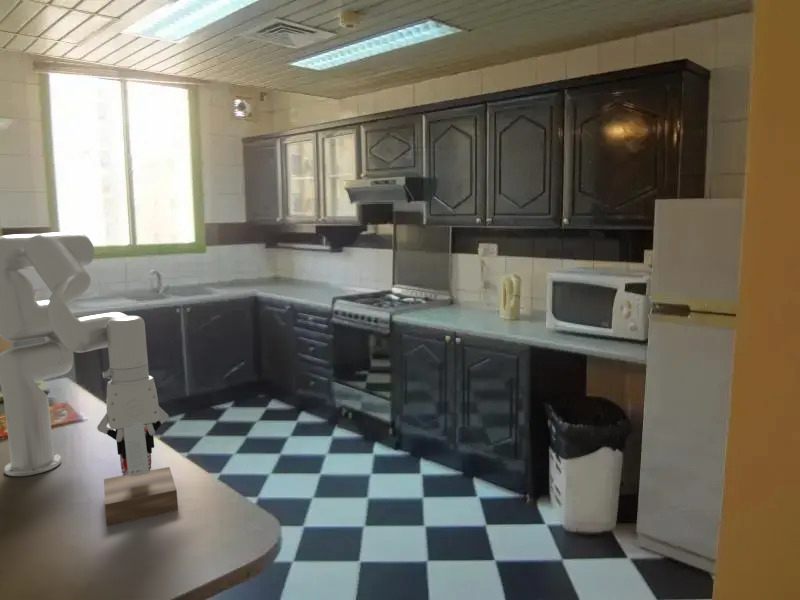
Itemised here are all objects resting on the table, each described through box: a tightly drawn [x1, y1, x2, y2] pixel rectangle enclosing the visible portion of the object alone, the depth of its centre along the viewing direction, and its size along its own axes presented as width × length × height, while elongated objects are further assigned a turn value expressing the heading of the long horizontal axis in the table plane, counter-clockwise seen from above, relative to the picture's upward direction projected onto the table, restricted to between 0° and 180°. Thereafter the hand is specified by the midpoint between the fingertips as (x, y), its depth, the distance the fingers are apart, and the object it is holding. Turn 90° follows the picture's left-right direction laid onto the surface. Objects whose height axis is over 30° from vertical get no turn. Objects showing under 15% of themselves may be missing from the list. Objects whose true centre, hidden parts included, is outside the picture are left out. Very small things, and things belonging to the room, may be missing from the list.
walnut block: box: [103, 466, 179, 527], centre depth 135 cm, size 14×14×5 cm
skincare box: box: [123, 420, 150, 476], centre depth 133 cm, size 6×4×12 cm
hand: (136, 453), depth 134 cm, fingers closed on skincare box, 4 cm apart
